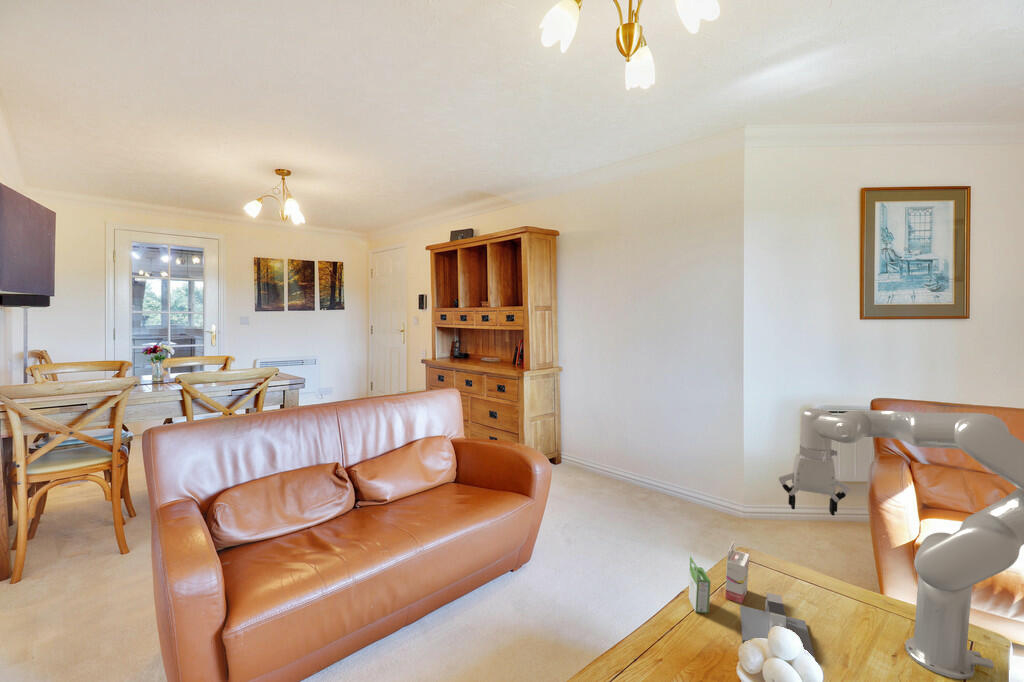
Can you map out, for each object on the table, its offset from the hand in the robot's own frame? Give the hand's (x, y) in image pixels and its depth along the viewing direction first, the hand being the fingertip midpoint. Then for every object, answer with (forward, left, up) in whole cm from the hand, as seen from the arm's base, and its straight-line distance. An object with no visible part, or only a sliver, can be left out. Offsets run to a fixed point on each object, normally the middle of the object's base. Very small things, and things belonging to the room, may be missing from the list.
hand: (811, 510), depth 134 cm
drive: (+10, +18, -27) cm, 34 cm away
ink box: (+29, +14, -28) cm, 43 cm away
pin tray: (+10, +18, -28) cm, 35 cm away
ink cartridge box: (+19, +4, -28) cm, 34 cm away
